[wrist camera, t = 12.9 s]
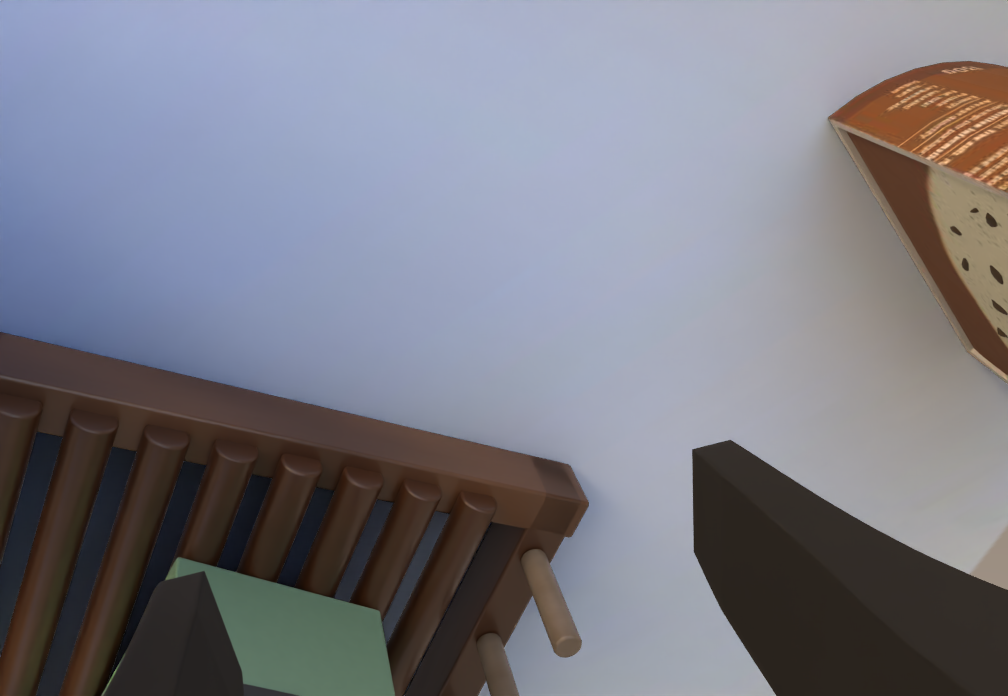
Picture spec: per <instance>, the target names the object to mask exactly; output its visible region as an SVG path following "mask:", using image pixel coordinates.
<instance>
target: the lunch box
mask: <svg viewBox="0 0 1008 696" xmlns="http://www.w3.org/2000/svg"><path fill="white" fill-rule="evenodd" d="M202 571H205V573H206V576H207V579H208V581H209V584H210V587H211V589H212V592H213V595H214V598H215V600H216V603H217V606H218V608H219V611H220V614H221V616H222V619H223V622H224V624H225V627H226V630H227V632H228V635H229V638H230V640H231V643H232V646H233V648H234V651H235V654H236V656H237V659H238V662H239V665H240V667H241V670H242V676H243V687H244V696H395V692H394V686H393V681H392V675H391V670H390V664H389V659H388V653H387V648H386V642H385V637H384V631H383V626H382V620H381V614H380V611H378V610H375V609H371V608H368V607H364V606H360V605H356V604H353V603H349V602H345V601H341V600H338V599H334V598H330V597H326V596H323V595H319V594H315V593H312V592H308V591H304V590H300V589H297V588H293V587H289V586H285V585H282V584H278V583H274V582H270V581H267V580H263V579H259V578H255V577H252V576H248V575H244V574H241V573H237V572H233V571H229V570H226V569H222V568H218V567H214V566H211V565H207V564H203V563H199V562H196V561H192V560H188V559H184V558H181V557H178V558H177V559H176V560H175V562H174V564H173V566H172V568H171V570H170V571H169V573H168V575H167V577H166V579H165V580H169V579H173V578H177V577H181V576H185V575H190V574H194V573H198V572H202ZM123 656H124V655H123ZM122 658H123V657H122ZM121 660H122V659H121ZM120 662H121V661H120ZM119 664H120V663H119ZM118 666H119V665H118ZM118 666H117V668H118ZM117 668H116V670H117ZM116 670H115V672H116ZM115 672H114V674H115ZM114 674H113V675H112V677H111V679H110V681H109V683H108V685H107V686H106V688H105V690H104V692H103V694H102V696H103V695H104V693H105V691H106V690H107V688H108V686H109V684H110V682H111V680H112V678H113V676H114Z"/></svg>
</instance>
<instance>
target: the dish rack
mask: <svg viewBox="0 0 1008 696" xmlns="http://www.w3.org/2000/svg"><path fill="white" fill-rule="evenodd" d="M37 432H40V433H45V434H50V435H55V436H60V437H62V441H61V444H60V448H59V451H58V455H57V458H56V462H55V466H54V469H53V473H52V476H51V480H50V483H49V487H48V490H47V494H46V497H45V501H44V504H43V508H42V512H41V515H40V519H39V522H38V526H37V529H36V533H35V536H34V540H33V543H32V547H31V550H30V554H29V558H28V561H27V565H26V568H25V572H24V575H23V579H22V582H21V586H20V589H19V593H18V596H17V600H16V604H15V607H14V611H13V614H12V618H11V621H10V625H9V628H8V632H7V635H6V639H5V642H4V646H3V650H2V653H1V657H0V696H36V694H37V690H38V687H39V684H40V681H41V677H42V674H43V671H44V668H45V664H46V661H47V658H48V655H49V651H50V648H51V645H52V642H53V638H54V635H55V632H56V629H57V625H58V622H59V619H60V616H61V612H62V609H63V606H64V603H65V599H66V596H67V593H68V590H69V586H70V583H71V580H72V577H73V573H74V570H75V567H76V564H77V560H78V557H79V554H80V551H81V547H82V544H83V541H84V538H85V534H86V531H87V528H88V525H89V521H90V518H91V515H92V512H93V508H94V505H95V502H96V499H97V495H98V492H99V489H100V486H101V482H102V479H103V476H104V473H105V469H106V466H107V463H108V460H109V456H110V453H111V450H112V447H116V448H121V449H126V450H131V451H136V455H135V458H134V461H133V464H132V467H131V471H130V474H129V477H128V480H127V483H126V486H125V489H124V492H123V496H122V499H121V502H120V505H119V508H118V511H117V514H116V517H115V521H114V524H113V527H112V530H111V533H110V536H109V539H108V542H107V546H106V549H105V552H104V555H103V558H102V561H101V564H100V568H99V571H98V574H97V577H96V580H95V583H94V586H93V589H92V593H91V596H90V599H89V602H88V605H87V608H86V611H85V614H84V618H83V621H82V624H81V627H80V630H79V633H78V636H77V639H76V643H75V646H74V649H73V652H72V655H71V658H70V661H69V664H68V668H67V671H66V674H65V677H64V680H63V683H62V686H61V690H60V693H59V696H102V694H103V692H104V690H105V688H106V686H107V683H108V680H109V678H110V675H111V672H112V669H113V666H114V663H115V660H116V657H117V654H118V651H119V648H120V646H121V643H122V640H123V637H124V634H125V631H126V628H127V625H128V622H129V619H130V616H131V614H132V611H133V608H134V605H135V602H136V599H137V596H138V593H139V590H140V587H141V584H142V582H143V579H144V576H145V573H146V570H147V567H148V564H149V561H150V558H151V555H152V552H153V550H154V547H155V544H156V541H157V538H158V535H159V532H160V529H161V526H162V523H163V520H164V518H165V515H166V512H167V509H168V506H169V503H170V500H171V497H172V494H173V491H174V488H175V486H176V483H177V480H178V477H179V474H180V471H181V468H182V465H183V462H184V461H186V462H191V463H196V464H201V465H206V468H205V470H204V473H203V476H202V479H201V482H200V485H199V487H198V490H197V493H196V496H195V499H194V501H193V504H192V507H191V510H190V513H189V516H188V518H187V521H186V524H185V527H184V530H183V532H182V535H181V538H180V541H179V544H178V547H177V549H176V552H175V555H174V558H173V561H172V563H171V566H170V569H169V571H170V570H171V568H172V566H173V564H174V562H175V560H176V559H177V558H178V557H181V558H184V559H188V560H192V561H196V562H199V563H203V564H207V565H211V566H214V567H217V565H218V562H219V560H220V557H221V554H222V552H223V549H224V546H225V544H226V541H227V538H228V536H229V533H230V530H231V528H232V525H233V523H234V520H235V517H236V515H237V512H238V509H239V507H240V504H241V501H242V499H243V496H244V493H245V491H246V488H247V486H248V483H249V480H250V478H251V475H257V476H262V477H267V478H272V480H271V483H270V485H269V488H268V491H267V493H266V496H265V498H264V501H263V503H262V506H261V509H260V511H259V514H258V516H257V519H256V521H255V524H254V527H253V529H252V532H251V534H250V537H249V539H248V542H247V545H246V547H245V550H244V552H243V555H242V557H241V560H240V563H239V565H238V568H237V570H236V572H237V573H241V574H244V575H248V576H252V577H255V578H259V579H263V580H267V581H270V582H274V583H277V581H278V578H279V576H280V573H281V571H282V569H283V566H284V564H285V561H286V559H287V556H288V554H289V552H290V549H291V547H292V544H293V542H294V539H295V537H296V535H297V532H298V530H299V527H300V525H301V522H302V520H303V518H304V515H305V513H306V510H307V508H308V505H309V503H310V501H311V498H312V496H313V493H314V491H315V488H316V487H317V488H322V489H327V490H332V491H334V493H333V496H332V498H331V501H330V503H329V505H328V508H327V510H326V512H325V515H324V517H323V520H322V522H321V524H320V527H319V529H318V531H317V534H316V536H315V539H314V541H313V543H312V546H311V548H310V550H309V553H308V555H307V558H306V560H305V562H304V565H303V567H302V569H301V572H300V574H299V576H298V579H297V581H296V584H295V586H294V588H297V589H300V590H304V591H308V592H312V593H315V594H319V595H323V596H326V597H330V598H334V595H335V593H336V591H337V589H338V586H339V584H340V582H341V580H342V577H343V575H344V573H345V571H346V568H347V566H348V564H349V562H350V559H351V557H352V555H353V553H354V550H355V548H356V546H357V544H358V541H359V539H360V537H361V535H362V532H363V530H364V528H365V526H366V523H367V521H368V519H369V517H370V514H371V512H372V510H373V508H374V505H375V503H376V501H377V499H378V500H383V501H388V502H393V505H392V507H391V510H390V512H389V514H388V516H387V518H386V521H385V523H384V525H383V527H382V529H381V532H380V534H379V536H378V538H377V541H376V543H375V545H374V547H373V549H372V552H371V554H370V556H369V558H368V560H367V563H366V565H365V567H364V569H363V571H362V574H361V576H360V578H359V580H358V583H357V585H356V587H355V589H354V591H353V594H352V596H351V598H350V600H349V603H353V604H356V605H360V606H364V607H368V608H371V609H375V610H378V611H380V614H381V620H382V622H383V620H384V618H385V616H386V614H387V612H388V609H389V607H390V605H391V603H392V601H393V599H394V597H395V595H396V593H397V590H398V588H399V586H400V584H401V582H402V580H403V578H404V576H405V574H406V572H407V569H408V567H409V565H410V563H411V561H412V559H413V557H414V555H415V553H416V550H417V548H418V546H419V544H420V542H421V540H422V538H423V536H424V534H425V532H426V529H427V527H428V525H429V523H430V521H431V519H432V517H433V515H434V513H435V511H438V512H443V513H448V514H449V517H448V519H447V521H446V523H445V525H444V527H443V529H442V531H441V533H440V535H439V537H438V539H437V541H436V543H435V546H434V548H433V550H432V552H431V554H430V556H429V558H428V560H427V562H426V564H425V566H424V568H423V570H422V572H421V575H420V577H419V579H418V581H417V583H416V585H415V587H414V589H413V591H412V593H411V595H410V597H409V599H408V601H407V604H406V606H405V608H404V610H403V612H402V614H401V616H400V618H399V620H398V622H397V624H396V626H395V628H394V630H393V633H392V635H391V637H390V639H389V641H388V643H387V645H386V648H387V653H388V659H389V664H390V670H391V675H392V681H393V686H394V692H395V696H403V695H404V693H405V691H406V689H407V687H408V685H409V683H410V681H411V679H412V677H413V675H414V673H415V671H416V669H417V667H418V665H419V663H420V661H421V659H422V657H423V655H424V653H425V651H426V649H427V647H428V645H429V643H430V641H431V639H432V637H433V635H434V633H435V631H436V629H437V627H438V625H439V623H440V621H441V619H442V617H443V615H444V613H445V611H446V610H447V608H448V606H449V604H450V602H451V600H452V598H453V596H454V594H455V592H456V590H457V588H458V586H459V584H460V582H461V580H462V578H463V576H464V574H465V572H466V570H467V568H468V566H469V564H470V562H471V560H472V558H473V556H474V554H475V552H476V550H477V548H478V546H479V544H480V542H481V540H482V538H483V536H484V534H485V532H486V530H487V528H488V526H489V524H490V522H492V524H491V526H490V528H489V530H488V532H487V534H486V536H485V538H484V540H483V542H482V544H481V546H480V548H479V550H478V552H477V554H476V556H475V558H474V560H473V562H472V564H471V566H470V568H469V570H468V572H467V574H466V576H465V578H464V580H463V582H462V584H461V586H460V588H459V590H458V592H457V594H456V596H455V598H454V600H453V602H452V604H451V606H450V608H449V609H448V611H447V613H446V615H445V617H444V619H443V621H442V623H441V625H440V627H439V629H438V631H437V633H436V635H435V637H434V639H433V641H432V643H431V645H430V647H429V649H428V651H427V653H426V655H425V657H424V659H423V661H422V663H421V665H420V667H419V669H418V671H417V673H416V675H415V677H414V679H413V681H412V683H411V685H410V687H409V689H408V691H407V693H406V695H405V696H478V695H479V693H480V691H481V689H482V687H483V685H484V684H485V682H486V681H487V684H488V688H489V691H490V695H491V696H519V693H518V690H517V687H516V684H515V681H514V678H513V674H512V671H511V668H510V665H509V662H508V659H507V656H506V653H505V649H504V647H505V645H506V643H507V641H508V640H509V638H510V636H511V634H512V632H513V630H514V629H515V627H516V625H517V623H518V621H519V619H520V617H521V616H522V614H523V612H524V610H525V608H526V606H527V605H528V603H529V601H530V599H531V597H532V595H533V597H534V600H535V602H536V605H537V608H538V610H539V613H540V616H541V618H542V621H543V624H544V626H545V629H546V632H547V634H548V637H549V640H550V642H551V645H552V647H553V650H554V652H555V653H556V654H557V655H558V656H560V657H570V656H573V655H575V654H576V653H577V652H578V651H579V650H580V648H581V645H582V640H581V638H580V635H579V633H578V631H577V628H576V626H575V623H574V621H573V619H572V616H571V614H570V611H569V609H568V607H567V604H566V602H565V599H564V597H563V595H562V592H561V590H560V587H559V585H558V583H557V580H556V578H555V575H554V573H553V570H552V568H551V566H550V562H551V561H552V559H553V557H554V555H555V553H556V551H557V550H558V548H559V546H560V544H561V542H562V540H563V539H564V537H571V536H572V535H573V533H574V532H575V530H576V528H577V526H578V524H579V522H580V521H581V519H582V517H583V515H584V513H585V512H586V510H587V508H588V506H589V502H588V500H587V498H586V496H585V494H584V492H583V490H582V488H581V486H580V484H579V482H578V480H577V478H576V476H575V474H574V472H573V470H572V468H571V466H569V465H568V464H564V463H560V462H556V461H551V460H547V459H543V458H539V457H534V456H530V455H525V454H521V453H517V452H513V451H508V450H504V449H500V448H495V447H491V446H487V445H483V444H478V443H474V442H470V441H465V440H461V439H457V438H452V437H448V436H444V435H440V434H435V433H431V432H427V431H422V430H418V429H414V428H410V427H405V426H401V425H397V424H392V423H388V422H384V421H380V420H375V419H371V418H367V417H362V416H358V415H354V414H350V413H345V412H341V411H337V410H332V409H328V408H324V407H320V406H315V405H311V404H307V403H302V402H298V401H294V400H289V399H285V398H281V397H277V396H272V395H268V394H264V393H259V392H255V391H251V390H247V389H242V388H238V387H234V386H229V385H225V384H221V383H217V382H212V381H208V380H204V379H199V378H195V377H191V376H187V375H182V374H178V373H174V372H169V371H165V370H161V369H157V368H152V367H148V366H144V365H139V364H135V363H131V362H126V361H122V360H118V359H114V358H109V357H105V356H101V355H96V354H92V353H88V352H84V351H79V350H75V349H71V348H66V347H62V346H58V345H54V344H49V343H45V342H41V341H36V340H32V339H28V338H24V337H19V336H15V335H11V334H6V333H2V332H0V567H1V563H2V559H3V556H4V552H5V548H6V545H7V541H8V537H9V534H10V530H11V526H12V522H13V519H14V515H15V511H16V508H17V504H18V500H19V496H20V493H21V489H22V485H23V482H24V478H25V474H26V471H27V467H28V463H29V459H30V456H31V452H32V448H33V445H34V441H35V437H36V433H37ZM168 573H169V572H168Z"/></svg>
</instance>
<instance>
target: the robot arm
mask: <svg viewBox="0 0 1008 696" xmlns="http://www.w3.org/2000/svg"><path fill="white" fill-rule="evenodd" d="M692 457H693V525H694V553H695V555H696V557H697V559H698V562H699V564H700V566H701V568H702V570H703V572H704V575H705V577H706V579H707V581H708V583H709V585H710V587H711V589H712V591H713V594H714V596H715V598H716V600H717V602H718V604H719V606H720V608H721V610H722V611H723V613H724V615H725V616H726V618H727V619H728V621H729V623H730V624H731V626H732V627H733V629H734V630H735V632H736V634H737V635H738V637H739V638H740V640H741V641H742V643H743V645H744V646H745V648H746V649H747V651H748V652H749V654H750V656H751V657H752V659H753V660H754V662H755V663H756V665H757V666H758V668H759V669H760V671H761V673H762V674H763V676H764V677H765V679H766V680H767V682H768V683H769V685H770V686H771V688H772V689H773V691H774V693H775V694H776V696H1008V590H1006V589H1003V588H1001V587H998V586H996V585H993V584H991V583H988V582H986V581H983V580H981V579H978V578H976V577H974V576H971V575H969V574H967V573H965V572H962V571H960V570H958V569H956V568H953V567H951V566H949V565H947V564H944V563H942V562H940V561H938V560H935V559H933V558H931V557H929V556H927V555H925V554H923V553H921V552H919V551H917V550H914V549H912V548H910V547H908V546H907V545H905V544H903V543H901V542H899V541H897V540H895V539H893V538H891V537H890V536H888V535H886V534H884V533H882V532H880V531H878V530H876V529H874V528H873V527H871V526H869V525H867V524H865V523H864V522H862V521H860V520H858V519H857V518H855V517H853V516H851V515H849V514H848V513H846V512H844V511H843V510H841V509H839V508H838V507H836V506H834V505H833V504H831V503H829V502H828V501H826V500H824V499H823V498H821V497H819V496H818V495H816V494H814V493H813V492H811V491H810V490H808V489H806V488H805V487H803V486H802V485H800V484H798V483H797V482H795V481H794V480H792V479H791V478H789V477H788V476H786V475H784V474H783V473H781V472H780V471H778V470H777V469H775V468H774V467H772V466H770V465H769V464H767V463H766V462H764V461H763V460H761V459H760V458H758V457H757V456H755V455H754V454H752V453H750V452H749V451H747V450H746V449H744V448H743V447H741V446H739V445H738V444H736V443H735V442H733V441H731V440H728V441H724V442H720V443H716V444H712V445H708V446H704V447H700V448H696V449H692ZM103 696H244V687H243V676H242V670H241V667H240V665H239V662H238V659H237V656H236V654H235V651H234V648H233V646H232V643H231V640H230V638H229V635H228V632H227V630H226V627H225V624H224V622H223V619H222V616H221V614H220V611H219V608H218V606H217V603H216V600H215V598H214V595H213V592H212V589H211V587H210V584H209V581H208V579H207V576H206V573H205V571H202V572H198V573H194V574H190V575H185V576H181V577H177V578H173V579H169V580H165V581H161V582H159V584H158V585H157V587H156V588H155V589H154V591H153V593H152V596H151V598H150V600H149V602H148V605H147V607H146V609H145V611H144V614H143V616H142V618H141V620H140V622H139V625H138V627H137V629H136V631H135V633H134V635H133V638H132V640H131V642H130V644H129V646H128V648H127V650H126V652H125V654H124V656H123V658H122V660H121V662H120V664H119V666H118V668H117V670H116V672H115V674H114V676H113V678H112V680H111V682H110V684H109V686H108V688H107V690H106V691H105V693H104V695H103Z"/></svg>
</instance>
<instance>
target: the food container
mask: <svg viewBox="0 0 1008 696" xmlns="http://www.w3.org/2000/svg"><path fill="white" fill-rule="evenodd" d="M828 119H829V121H830V122H831V124H832V126H833V127H834V129H835V131H836V132H837V134H838V136H839V137H840V139H841V141H842V142H843V144H844V146H845V147H846V149H847V151H848V152H849V154H850V156H851V157H852V159H853V161H854V162H855V164H856V166H857V168H858V169H859V171H860V173H861V174H862V176H863V178H864V179H865V181H866V183H867V184H868V186H869V188H870V189H871V191H872V193H873V194H874V196H875V198H876V199H877V201H878V203H879V204H880V206H881V208H882V210H883V211H884V213H885V215H886V216H887V218H888V220H889V221H890V223H891V225H892V226H893V228H894V230H895V231H896V233H897V235H898V236H899V238H900V240H901V241H902V243H903V245H904V246H905V248H906V250H907V251H908V253H909V255H910V257H911V258H912V260H913V262H914V263H915V265H916V267H917V268H918V270H919V272H920V273H921V275H922V277H923V278H924V280H925V282H926V283H927V285H928V287H929V288H930V290H931V292H932V293H933V295H934V297H935V298H936V300H937V302H938V304H939V305H940V307H941V309H942V310H943V312H944V314H945V315H946V317H947V319H948V320H949V322H950V324H951V325H952V327H953V329H954V330H955V332H956V334H957V335H958V337H959V339H960V340H961V342H962V344H963V345H964V347H965V349H966V351H967V352H968V353H969V354H971V355H972V356H973V357H974V358H976V359H977V360H978V361H979V362H981V363H982V364H983V365H984V366H986V367H987V368H988V369H990V370H991V371H992V372H993V373H995V374H996V375H997V376H998V377H1000V378H1001V379H1002V380H1003V381H1005V382H1006V383H1007V384H1008V67H1004V66H999V65H994V64H987V63H980V62H972V61H963V62H945V63H939V64H934V65H930V66H925V67H921V68H917V69H913V70H910V71H908V72H905V73H903V74H900V75H898V76H895V77H892V78H890V79H887V80H885V81H883V82H881V83H880V84H878V85H876V86H874V87H872V88H871V89H869V90H867V91H865V92H863V93H862V94H860V95H858V96H856V97H855V98H854V99H852V100H851V101H850V102H848V103H847V104H846V105H844V106H843V107H842V108H840V109H839V110H838V111H836V112H835V113H834V114H832V115H831V116H829V117H828Z"/></svg>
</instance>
